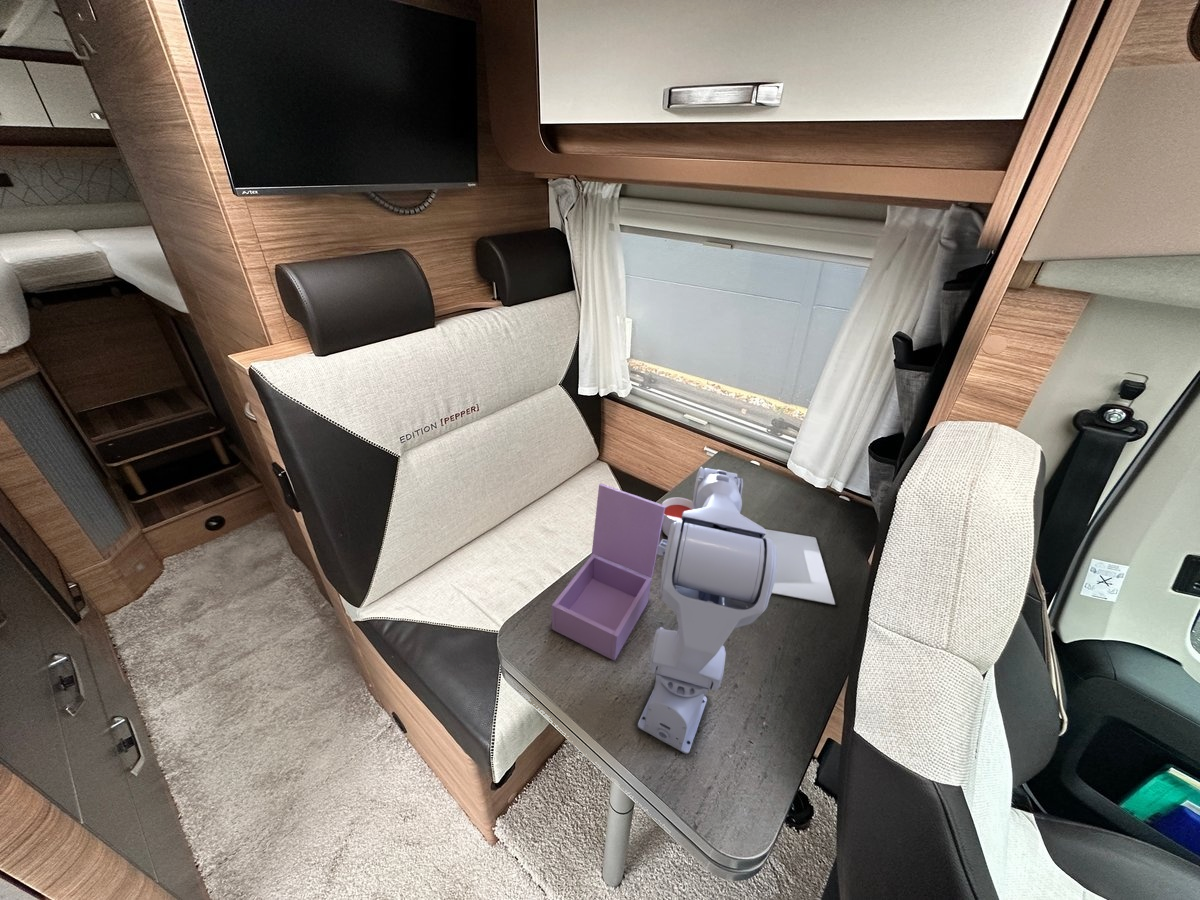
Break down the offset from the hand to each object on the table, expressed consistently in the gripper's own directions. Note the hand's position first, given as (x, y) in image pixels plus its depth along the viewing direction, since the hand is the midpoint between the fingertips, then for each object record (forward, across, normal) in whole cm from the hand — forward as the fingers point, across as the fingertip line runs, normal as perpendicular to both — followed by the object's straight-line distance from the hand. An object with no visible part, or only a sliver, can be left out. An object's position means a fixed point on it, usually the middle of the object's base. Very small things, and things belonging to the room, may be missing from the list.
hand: (693, 598), depth 80 cm
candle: (+9, +11, -26) cm, 29 cm away
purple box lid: (-6, +15, -3) cm, 16 cm away
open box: (+9, +15, +4) cm, 18 cm away
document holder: (+9, -11, -28) cm, 31 cm away
